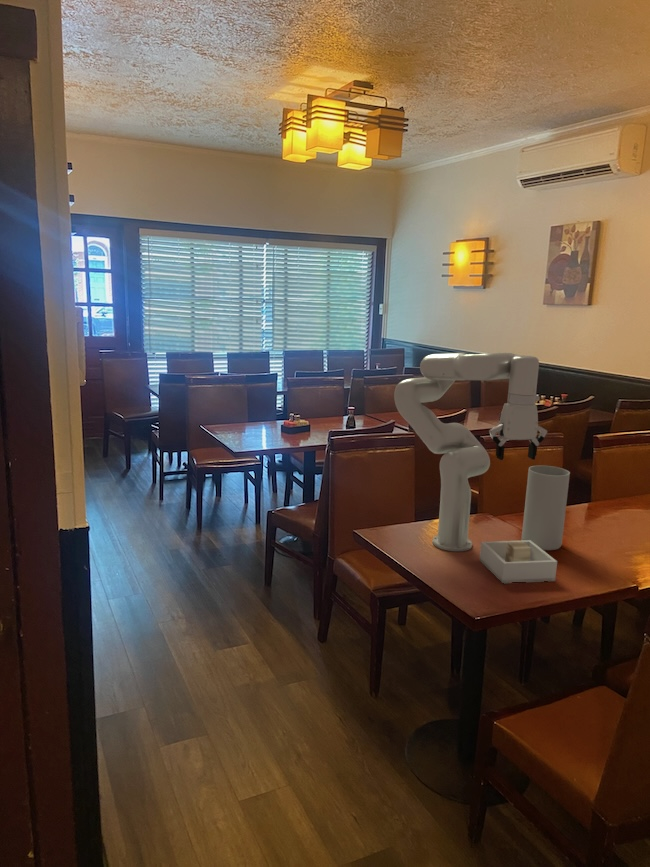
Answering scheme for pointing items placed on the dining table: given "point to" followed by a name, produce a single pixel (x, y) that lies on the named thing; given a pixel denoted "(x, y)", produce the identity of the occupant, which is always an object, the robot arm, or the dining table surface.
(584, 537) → the dining table surface
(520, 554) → the birch block
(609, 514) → the dining table surface
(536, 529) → the cylinder vase
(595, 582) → the dining table surface
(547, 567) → the bin
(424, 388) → the robot arm
